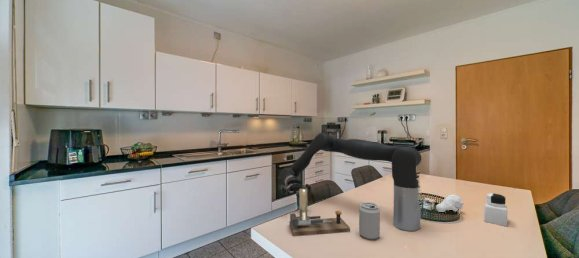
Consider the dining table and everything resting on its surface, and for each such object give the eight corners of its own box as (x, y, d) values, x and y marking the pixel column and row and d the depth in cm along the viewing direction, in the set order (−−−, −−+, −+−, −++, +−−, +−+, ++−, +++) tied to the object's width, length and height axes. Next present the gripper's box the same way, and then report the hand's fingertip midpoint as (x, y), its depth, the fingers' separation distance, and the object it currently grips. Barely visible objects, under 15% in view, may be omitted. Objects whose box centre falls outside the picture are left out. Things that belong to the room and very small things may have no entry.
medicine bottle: (506, 221, 97) (507, 194, 97) (507, 226, 92) (507, 198, 92) (484, 216, 102) (485, 191, 102) (484, 221, 97) (484, 194, 97)
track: (340, 220, 98) (340, 207, 98) (350, 231, 88) (350, 216, 88) (289, 224, 95) (289, 210, 94) (293, 236, 85) (293, 220, 85)
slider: (320, 218, 94) (320, 186, 93) (323, 223, 89) (323, 190, 89) (296, 220, 92) (296, 188, 92) (298, 225, 88) (298, 191, 87)
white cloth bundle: (464, 196, 105) (441, 199, 103) (465, 213, 105) (443, 217, 103) (452, 192, 111) (431, 195, 109) (454, 208, 111) (432, 212, 110)
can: (377, 242, 80) (377, 209, 80) (356, 237, 84) (357, 205, 84) (381, 234, 86) (381, 203, 86) (361, 229, 90) (361, 200, 90)
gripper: (279, 177, 116) (282, 185, 100) (305, 176, 118) (313, 184, 102) (279, 191, 116) (282, 202, 100) (305, 190, 118) (313, 200, 102)
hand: (298, 193), depth 101 cm, fingers open, 8 cm apart
